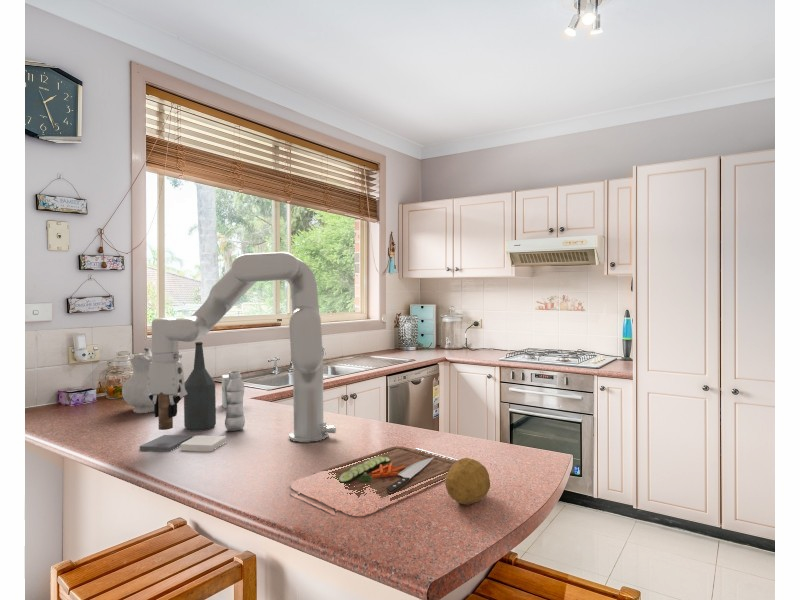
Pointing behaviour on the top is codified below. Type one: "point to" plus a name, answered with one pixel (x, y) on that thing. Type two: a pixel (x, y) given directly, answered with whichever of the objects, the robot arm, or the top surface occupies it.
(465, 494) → the potato
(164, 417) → the dowel
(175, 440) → the mat
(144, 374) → the ceramic pitcher
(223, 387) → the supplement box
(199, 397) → the bottle
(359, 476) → the chopping board
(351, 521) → the top surface
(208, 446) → the tile
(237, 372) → the plastic bottle
